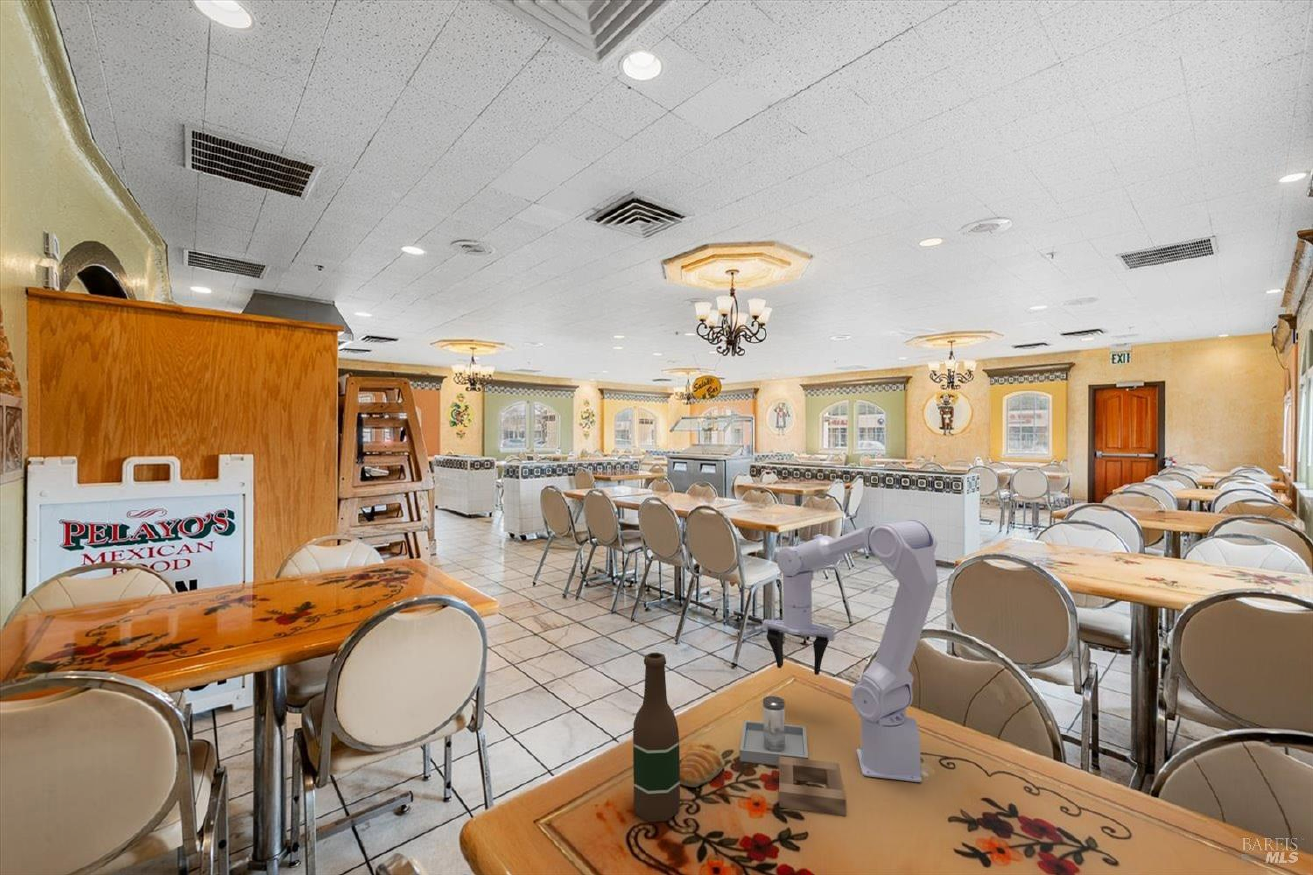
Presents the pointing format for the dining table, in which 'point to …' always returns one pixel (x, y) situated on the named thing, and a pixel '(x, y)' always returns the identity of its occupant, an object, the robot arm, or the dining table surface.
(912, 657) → the robot arm
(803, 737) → the tray
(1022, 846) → the dining table surface
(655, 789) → the beer bottle
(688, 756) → the pastry
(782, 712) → the steel pin
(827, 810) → the eye block
